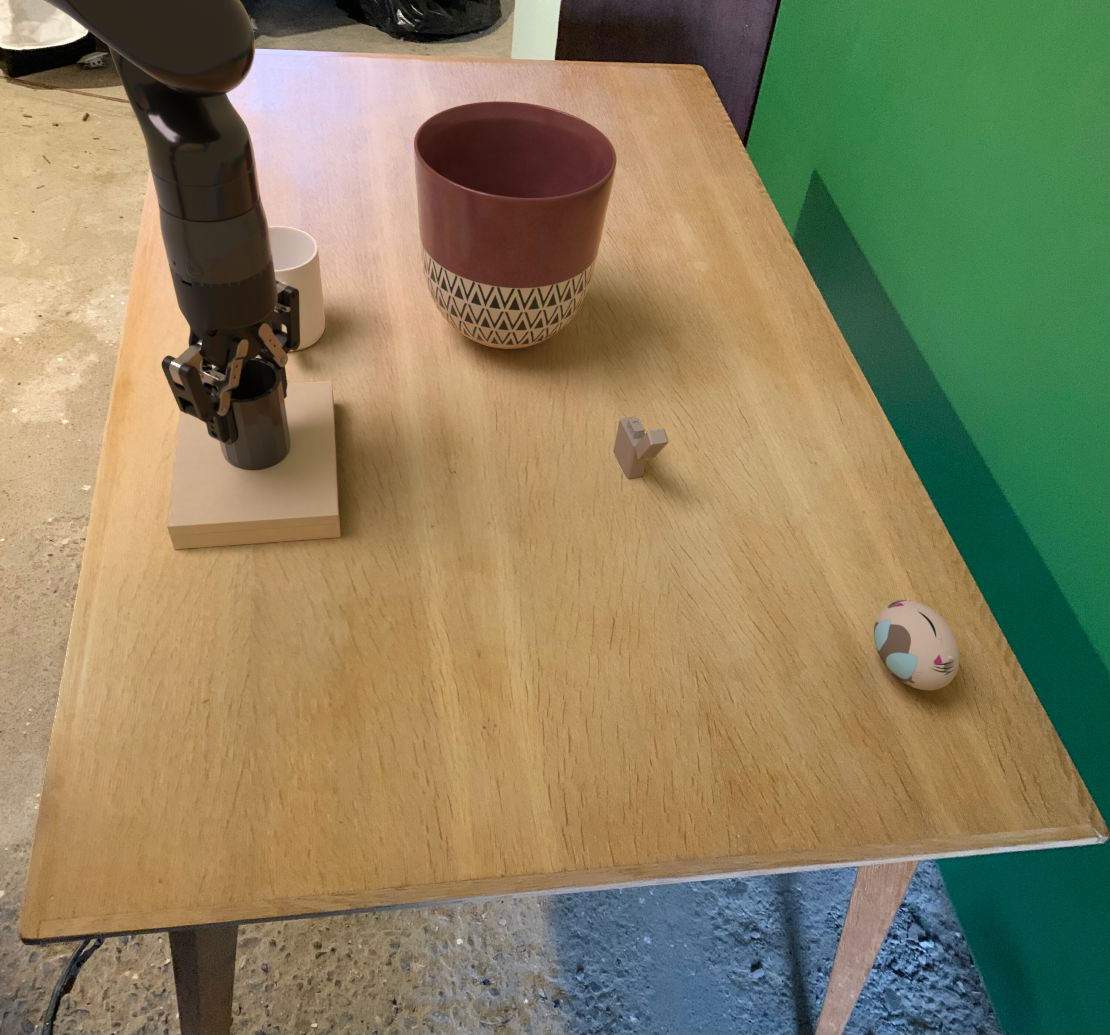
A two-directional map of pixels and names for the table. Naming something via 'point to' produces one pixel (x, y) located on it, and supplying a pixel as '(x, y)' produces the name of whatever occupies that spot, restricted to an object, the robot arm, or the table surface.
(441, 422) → the table surface
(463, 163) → the planter
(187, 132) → the robot arm
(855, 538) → the table surface
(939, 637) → the figurine
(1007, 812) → the table surface
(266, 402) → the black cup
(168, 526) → the plate
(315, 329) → the cup
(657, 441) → the grey blocky piece
